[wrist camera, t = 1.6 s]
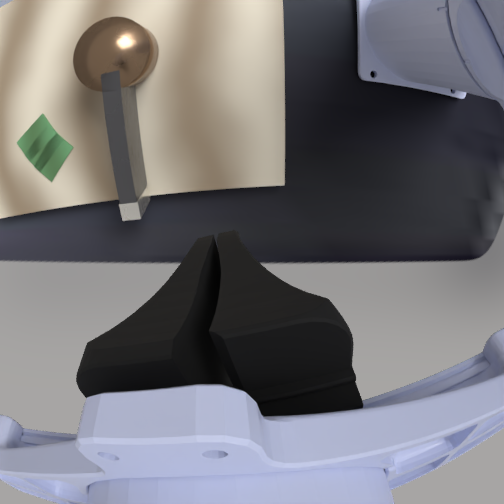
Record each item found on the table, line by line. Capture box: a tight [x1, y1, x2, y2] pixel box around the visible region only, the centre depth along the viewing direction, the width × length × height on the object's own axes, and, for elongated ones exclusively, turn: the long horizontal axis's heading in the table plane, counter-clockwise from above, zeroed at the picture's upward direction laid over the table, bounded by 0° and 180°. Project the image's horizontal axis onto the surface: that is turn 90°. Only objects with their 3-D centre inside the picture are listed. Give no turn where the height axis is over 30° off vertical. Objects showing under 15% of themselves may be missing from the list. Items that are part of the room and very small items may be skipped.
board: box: [0, 0, 285, 219], centre depth 15 cm, size 22×16×1 cm
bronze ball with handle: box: [73, 16, 159, 221], centre depth 15 cm, size 11×4×3 cm, turn 1°
